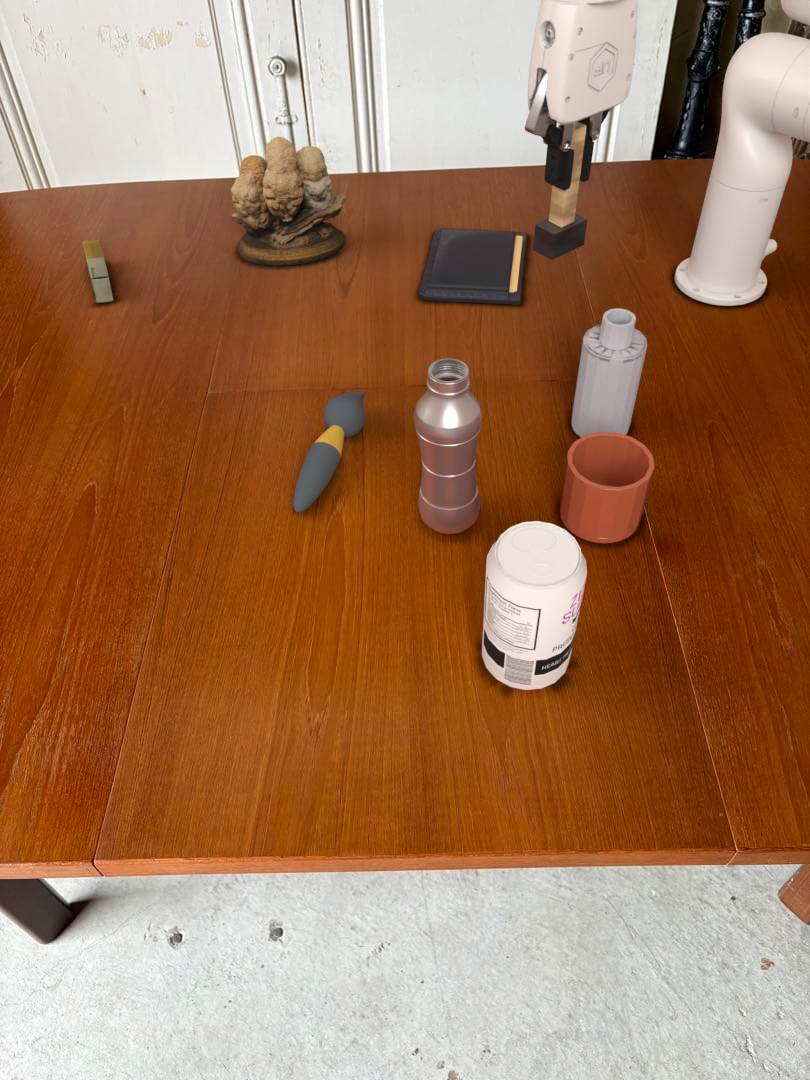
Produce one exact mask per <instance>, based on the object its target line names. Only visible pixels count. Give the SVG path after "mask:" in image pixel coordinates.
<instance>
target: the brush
mask: <svg viewBox="0 0 810 1080" xmlns="http://www.w3.org/2000/svg"><path fill="white" fill-rule="evenodd" d="M557 127H558V128H559V130H560V131H561V124H558V126H557ZM586 127H587V126H586V125H584V124H582V123H579V122H575V123H574V126H573V134H572V142H571V147H570V149H573V150H574V161H573V169H572V178H571V186H570V188H569V189H567V190H565V191H564V190H561V189H559V188H557V187H555V186H553V185H551V195H550V204H549V215H548V218H546V219H544V220H541V221H539V222H537V223H535V224H534V232H533V243H532V244H533V245H532V250H533V251H534V252H536V253H537V254H539V255H541V256H543V257H545V258H547V259H549V260H551V261H553V260H556V259H558V258H560V257H562V256H564V255H566V254H568V253H570V252H572V251H575V250H577V249H578V248H581V247H583V246H585V242H586V241H585V239H586V233H587V226H588V218H586V217H584V216H581V214H577V205H578V197H579V189H580V182H581V181H580V174H581V166H582V158H583V150H584V143H585V135H586Z"/></svg>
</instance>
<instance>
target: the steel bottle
mask: <svg viewBox="0 0 810 1080" xmlns="http://www.w3.org/2000/svg"><path fill="white" fill-rule="evenodd" d="M636 321H637V316H636V315H635V313H634V312H632V311H631V310H628V309H625V308H619V307H618V308H617V307H616V308H610V309H608V310H606V311H604V313H603V315H602V319H601V324H597V325H594V326H593V327H591V328H588V330H586V331H585V333H584V335H583V338H582V343H581V351H580V358H579V365H578V372H577V377H576V378H577V379H576V385H575V393H574V399H573V405H572V411H571V412H572V413H571V428H572V430H573V432H574V433H575V434H576V435H577V436H578V437H580V438H581V437H583V436H585V435H588V434H593V433H597V432H616V433H620V434H623V435H627V434H628V433H629V429H630V427H631V423H632V417H633V414H634V413H633V412H634V409H635V405H636V400H637V396H638V395H637V394H638V390H639V387H640V381H641V377H642V373H643V368H644V363H645V358H646V353H647V350H648V341H647V338H646V336H645V335H644V334H643V333H642V332H641V331H640V330H638V329H637V328H635V326H636Z"/></svg>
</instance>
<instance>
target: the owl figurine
mask: <svg viewBox="0 0 810 1080" xmlns="http://www.w3.org/2000/svg"><path fill="white" fill-rule="evenodd" d="M264 154H265V156H264V157H263V156H261V155H256V154H252V155H251V154H250V155H248V156H246V157H243V158H242V160H241V162H240V168H239V175H238V176H237V177H236V178H235V180H234V184H233V185H232V186H231V188H230V193H231V200H232V203H233V204H232V205H233V207H234V209H235V210H236V212H234V213H232V215H231V219H232V221H233V222H235V223H236V224H238V225H242V227H243V228H244V230H245V233H243V235H242V237H241V238H240V239H239V241H238V243H237V253H238V255H239V256H240V257H241V258H242V259H243V260H244V261H246V262H248V263H251V264H255V265H263V266H272V267H276V266H277V267H279V266H280V267H281V266H283V267H284V266H285V267H286V266H297V265H305V264H310V263H314V262H317V261H318V262H319V261H321V260H324V259H327V258H329V257H332V256H333V255H335V254H337V253H338V252H339V250H340V249H342V248H343V247H344V242H345V235H344V232H343V231H342V230H341V229H339V228H337V227H336V225H333V224H332V223H331V222H326V221H328V220H329V219H334V218H336V217H338V216H340V214H341V213H342V211H343V205H344V204H345V203H346V202H347V198H348V197H347V195H346V194H345V193H343V192H341V193H339V194H335V195H334V194H332V193H333V186H332V182H333V181H332V179H331V178H330V175H329V172H328V166H327V164H326V161H325V160H326V159H325V156H324V153H323V151H322V149H321V148H319V147H318V146H313V145H312V146H311V145H308V146H307V145H306V146H305V145H304V146H302V147H301V148H300V149H299V150H297V151H296V149H295V148H294V145H293V143H292V142H291V141H290V140H288V139H287V138H285V137H284V136H283V137H282V136H276V137H274V138H271V139H270V141H268V142H267V144H266V146H265V153H264Z"/></svg>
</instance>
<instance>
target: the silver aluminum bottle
mask: <svg viewBox="0 0 810 1080" xmlns="http://www.w3.org/2000/svg"><path fill="white" fill-rule="evenodd" d="M469 370H470V369H469V367H468V365H467V364H466V363H465V362H464V361H462V360H460V359H456V358H441V359H437V360H435V361H434V362H432V363H431V364H430V365H429V367H428V370H427V380H426V389H427V390H425V392H424V394H423V395H422V396H421V397H420V398H419V400H417V402H416V405H415V407H414V410H413V411H414V412H413V422H414V428H415V432H416V435H417V436H416V437H417V440H418V445H419V450H420V457H421V480H420V486H419V491H418V499H417V509H418V511H419V512H418V513H419V515H420V517H421V520H422V522H423V523H424V524H425V525H426V526H427V527H428V528H430V529H431V530H433V531H435V532H437V533H440V534H444V535H454V534H460V533H462V532H465V531H466V530H468V529H470V527H472V526H473V525H474V524H475V523H476V521H477V520H478V517H479V514H480V510H481V506H482V505H481V504H482V503H481V496H480V491H479V488H478V483H477V471H476V461H477V460H476V458H477V449H478V442H479V438H480V433H481V429H482V428H481V426H482V422H483V412H482V408H481V406H480V403H479V401H478V400H477V398H476V397H475V395H474V394H473V393H472V392H471V391H470V390H469V389H470V378H469V377H470V371H469Z"/></svg>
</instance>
